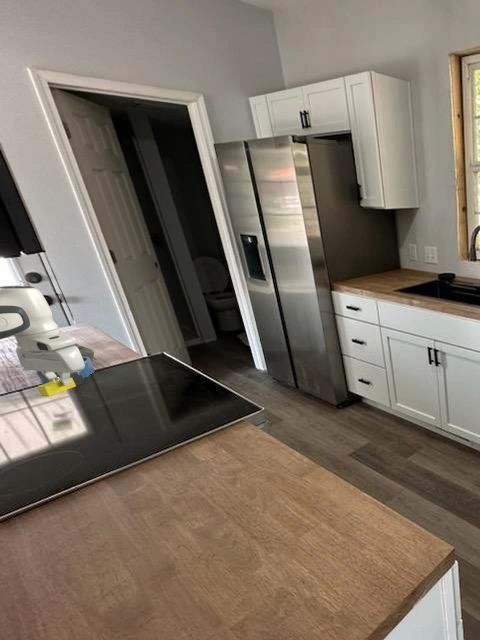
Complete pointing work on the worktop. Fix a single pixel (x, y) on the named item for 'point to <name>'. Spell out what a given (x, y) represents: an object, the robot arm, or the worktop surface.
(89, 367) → the bowl
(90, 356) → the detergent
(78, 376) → the block
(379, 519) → the worktop surface
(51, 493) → the worktop surface
